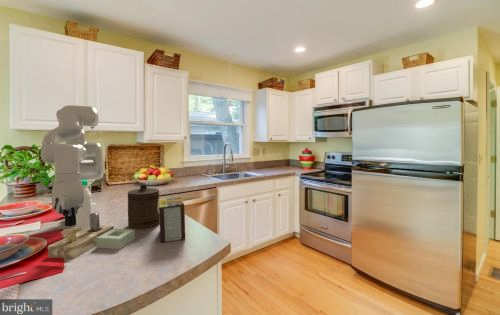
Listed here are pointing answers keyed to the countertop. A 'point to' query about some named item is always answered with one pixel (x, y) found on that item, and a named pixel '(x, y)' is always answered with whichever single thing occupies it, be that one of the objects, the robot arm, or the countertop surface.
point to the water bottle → (84, 209)
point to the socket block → (77, 243)
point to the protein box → (171, 219)
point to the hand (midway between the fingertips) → (70, 225)
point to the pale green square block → (115, 238)
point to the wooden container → (143, 208)
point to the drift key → (71, 234)
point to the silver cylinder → (94, 222)
